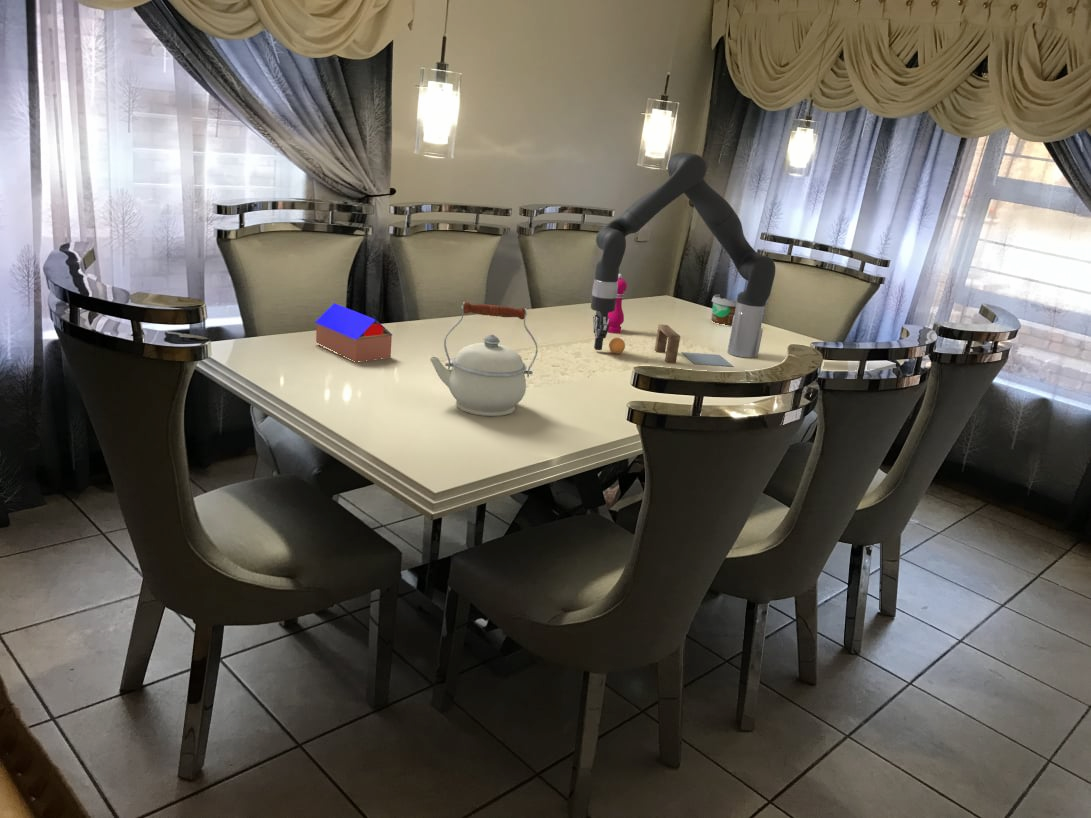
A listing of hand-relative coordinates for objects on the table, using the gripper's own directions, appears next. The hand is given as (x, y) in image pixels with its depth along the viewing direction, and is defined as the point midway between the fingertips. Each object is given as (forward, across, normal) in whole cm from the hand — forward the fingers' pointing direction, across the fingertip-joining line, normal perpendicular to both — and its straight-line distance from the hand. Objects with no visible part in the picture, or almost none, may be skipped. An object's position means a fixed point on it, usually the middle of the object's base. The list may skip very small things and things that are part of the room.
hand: (597, 349), depth 265 cm
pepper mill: (+1, +30, -11) cm, 32 cm away
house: (0, -17, +74) cm, 76 cm away
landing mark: (+1, 0, -36) cm, 36 cm away
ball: (-2, 0, -6) cm, 6 cm away
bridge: (+1, 0, -22) cm, 22 cm away
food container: (+2, +56, -59) cm, 81 cm away
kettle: (0, -58, +42) cm, 72 cm away
